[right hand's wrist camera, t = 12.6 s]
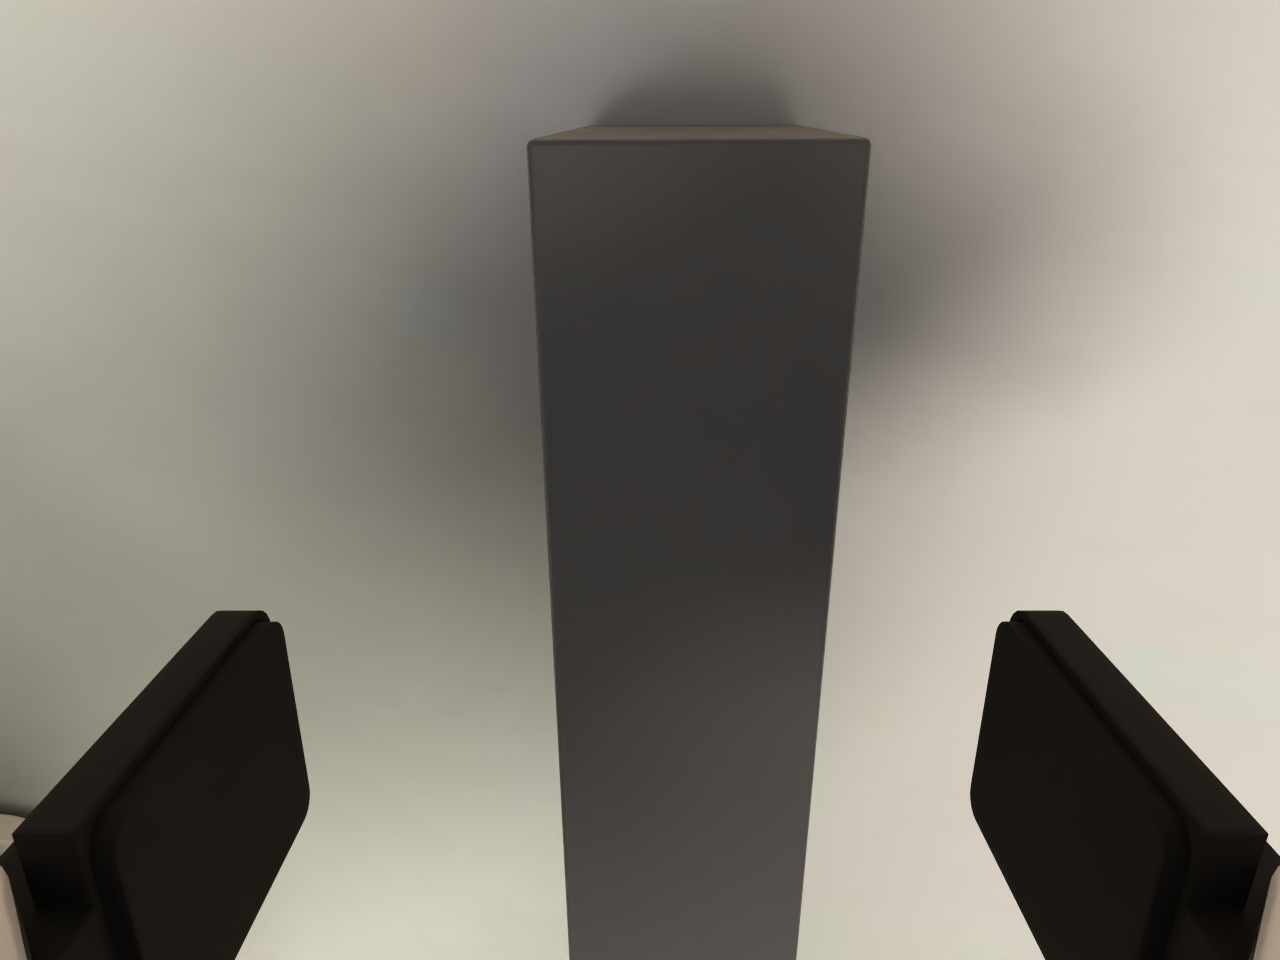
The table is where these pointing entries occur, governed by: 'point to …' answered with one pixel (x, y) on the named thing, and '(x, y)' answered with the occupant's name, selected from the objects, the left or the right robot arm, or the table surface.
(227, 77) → the table surface
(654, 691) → the post
